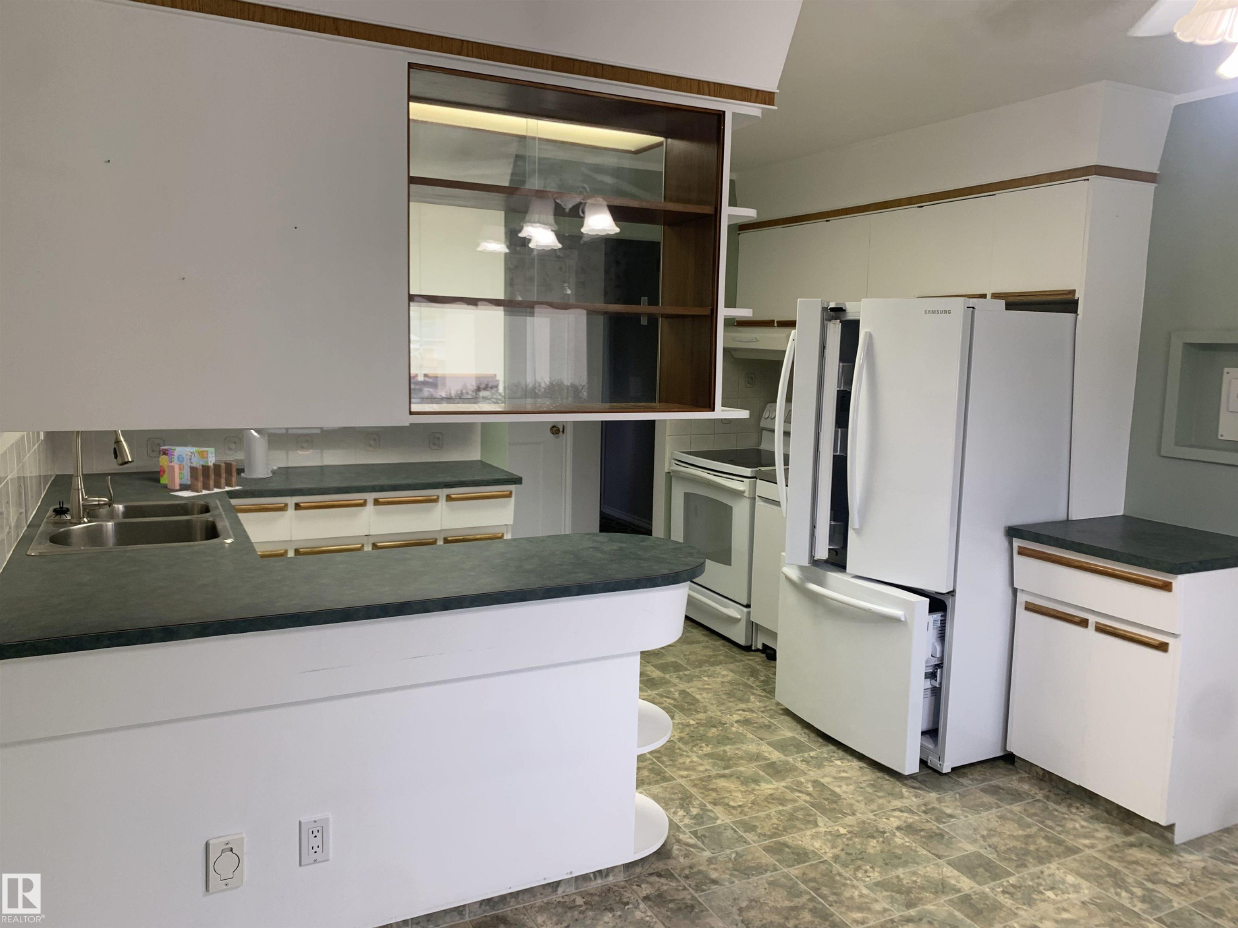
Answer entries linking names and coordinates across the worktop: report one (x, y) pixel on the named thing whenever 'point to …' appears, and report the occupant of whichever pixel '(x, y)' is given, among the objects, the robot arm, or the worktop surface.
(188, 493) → the domino mat
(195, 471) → the domino
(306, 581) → the worktop surface
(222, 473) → the domino
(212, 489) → the domino
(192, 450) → the snack box
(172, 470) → the domino
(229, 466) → the domino
